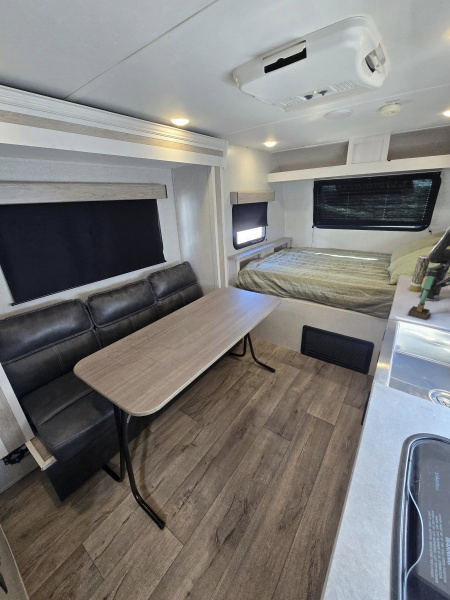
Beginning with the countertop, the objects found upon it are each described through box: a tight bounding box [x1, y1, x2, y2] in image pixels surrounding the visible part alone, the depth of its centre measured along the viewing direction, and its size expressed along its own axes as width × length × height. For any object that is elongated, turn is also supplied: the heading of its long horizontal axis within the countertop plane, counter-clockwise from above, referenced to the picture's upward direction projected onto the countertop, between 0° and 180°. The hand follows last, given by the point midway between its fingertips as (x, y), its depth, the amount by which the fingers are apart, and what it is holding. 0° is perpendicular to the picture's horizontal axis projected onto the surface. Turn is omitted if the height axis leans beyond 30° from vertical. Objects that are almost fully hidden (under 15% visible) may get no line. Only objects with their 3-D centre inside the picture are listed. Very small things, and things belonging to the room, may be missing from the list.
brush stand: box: [407, 302, 431, 320], centre depth 139 cm, size 9×8×7 cm
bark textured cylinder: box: [409, 254, 430, 292], centre depth 170 cm, size 7×7×25 cm
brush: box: [419, 276, 435, 305], centre depth 135 cm, size 5×4×19 cm
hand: (431, 288), depth 132 cm, fingers closed
